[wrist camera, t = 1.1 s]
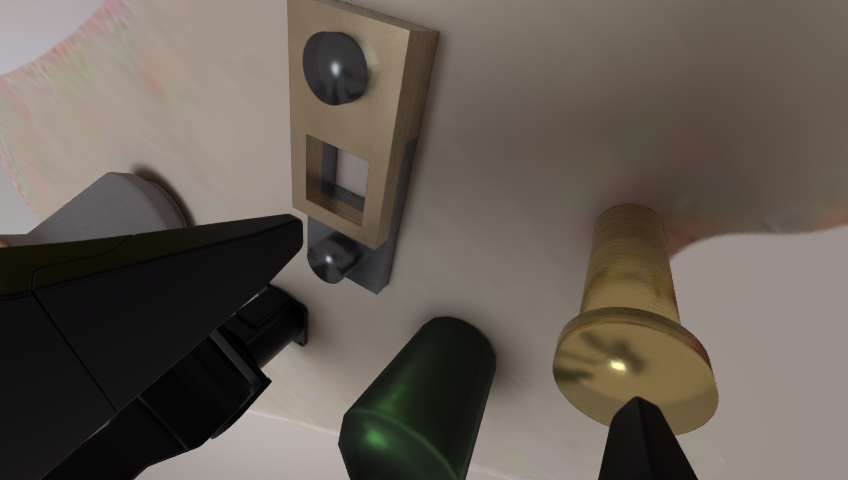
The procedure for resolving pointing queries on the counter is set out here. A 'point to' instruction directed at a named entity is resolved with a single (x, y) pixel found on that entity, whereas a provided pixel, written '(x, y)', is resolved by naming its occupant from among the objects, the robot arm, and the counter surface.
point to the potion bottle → (422, 408)
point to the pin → (633, 330)
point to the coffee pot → (107, 213)
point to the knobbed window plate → (354, 130)
